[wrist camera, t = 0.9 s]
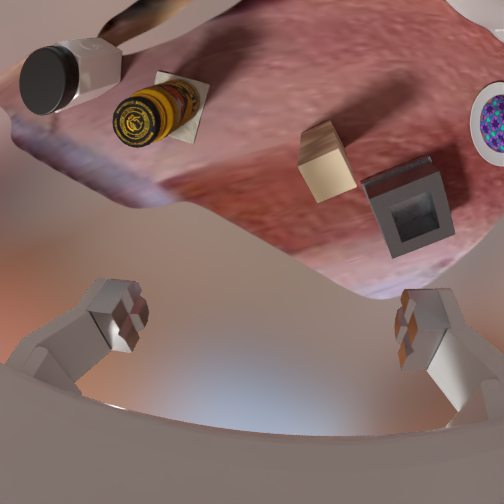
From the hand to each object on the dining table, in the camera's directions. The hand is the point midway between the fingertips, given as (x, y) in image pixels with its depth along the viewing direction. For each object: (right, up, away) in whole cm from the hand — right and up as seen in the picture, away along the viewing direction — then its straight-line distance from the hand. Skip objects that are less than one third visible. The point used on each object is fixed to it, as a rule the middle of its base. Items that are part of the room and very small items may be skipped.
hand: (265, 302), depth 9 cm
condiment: (-10, +20, +28) cm, 36 cm away
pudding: (+33, +19, +20) cm, 43 cm away
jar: (-21, +27, +25) cm, 43 cm away
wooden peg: (+8, +15, +28) cm, 32 cm away
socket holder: (+20, +9, +30) cm, 37 cm away
